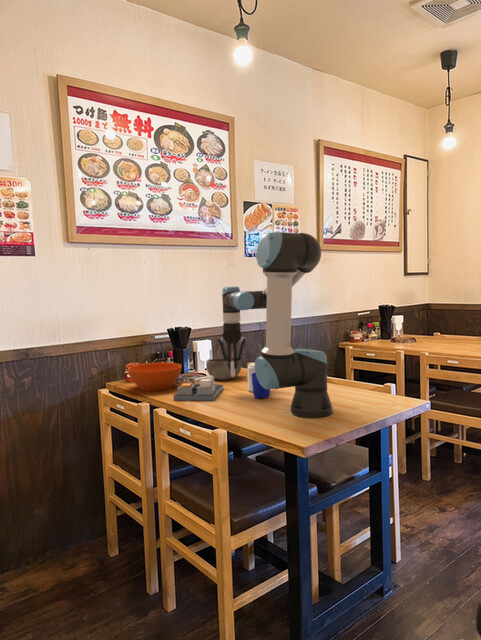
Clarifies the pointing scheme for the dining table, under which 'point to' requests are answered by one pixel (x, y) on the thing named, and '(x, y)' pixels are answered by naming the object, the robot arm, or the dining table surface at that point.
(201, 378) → the rocker
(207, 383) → the button ivory
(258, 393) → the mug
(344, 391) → the dining table surface
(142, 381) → the bowl
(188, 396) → the panel
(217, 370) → the bowl
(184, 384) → the button orange
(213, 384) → the slider knob
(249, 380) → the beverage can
